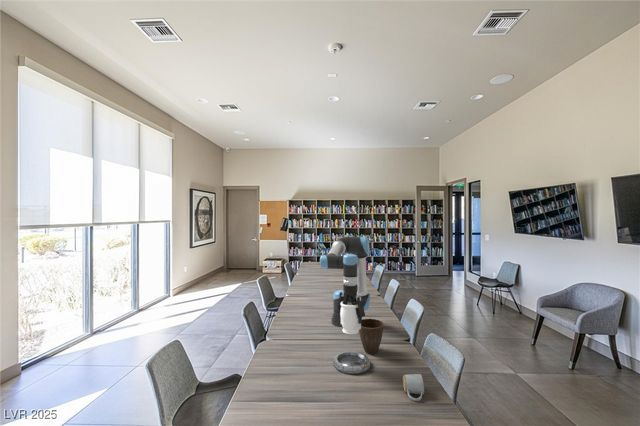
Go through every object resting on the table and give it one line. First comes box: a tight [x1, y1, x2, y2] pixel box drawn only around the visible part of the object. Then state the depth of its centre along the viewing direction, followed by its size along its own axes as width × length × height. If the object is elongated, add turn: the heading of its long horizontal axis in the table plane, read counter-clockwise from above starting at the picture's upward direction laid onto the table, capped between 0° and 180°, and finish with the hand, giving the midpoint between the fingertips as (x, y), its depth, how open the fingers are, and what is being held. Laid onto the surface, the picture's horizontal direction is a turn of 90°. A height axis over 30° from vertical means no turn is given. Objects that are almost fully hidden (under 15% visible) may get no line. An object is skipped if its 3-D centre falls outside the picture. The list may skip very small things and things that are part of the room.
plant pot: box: [358, 318, 385, 355], centre depth 169 cm, size 15×15×16 cm
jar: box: [340, 301, 360, 335], centre depth 154 cm, size 11×10×15 cm
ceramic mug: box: [402, 373, 425, 402], centre depth 128 cm, size 11×8×8 cm
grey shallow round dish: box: [333, 350, 371, 375], centre depth 153 cm, size 19×19×4 cm
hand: (350, 326), depth 154 cm, fingers closed on jar, 10 cm apart
